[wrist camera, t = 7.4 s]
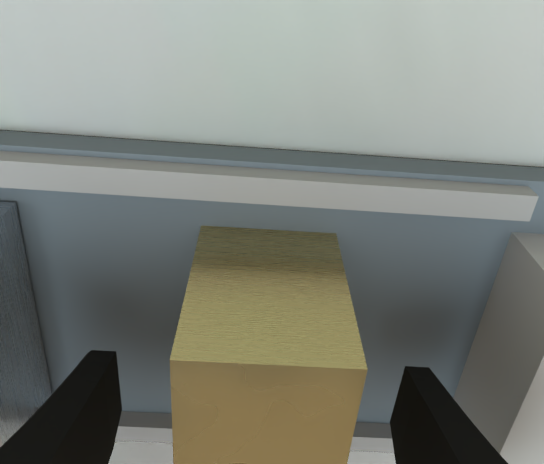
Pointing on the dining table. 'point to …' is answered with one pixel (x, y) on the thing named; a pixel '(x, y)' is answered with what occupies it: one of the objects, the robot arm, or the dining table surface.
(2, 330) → the free jaw
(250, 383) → the wooden block
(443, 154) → the dining table surface
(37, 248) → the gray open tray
